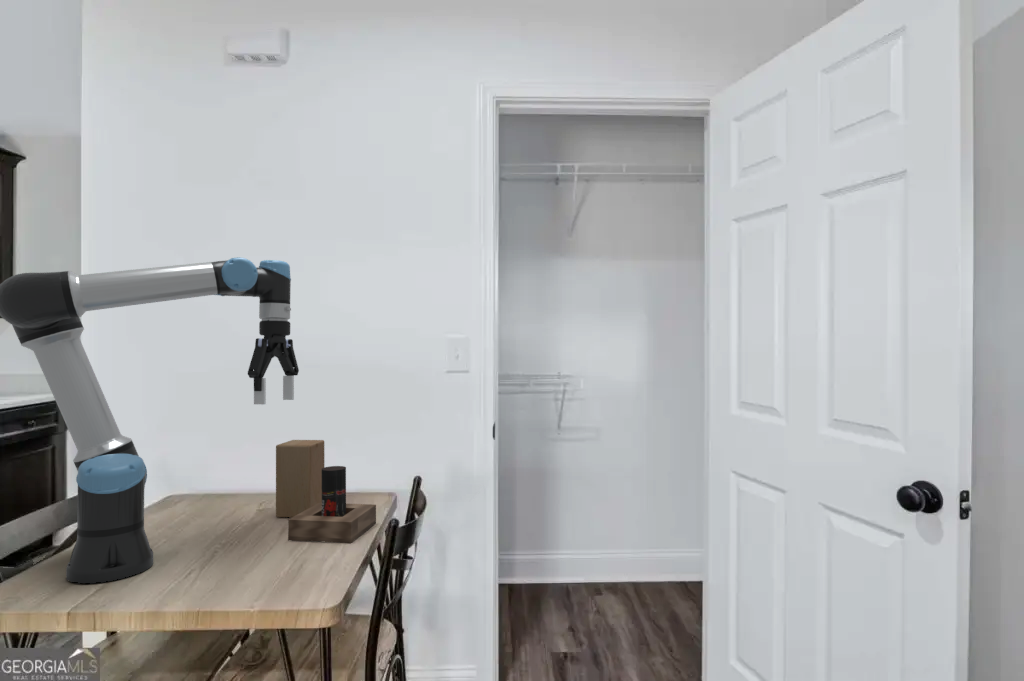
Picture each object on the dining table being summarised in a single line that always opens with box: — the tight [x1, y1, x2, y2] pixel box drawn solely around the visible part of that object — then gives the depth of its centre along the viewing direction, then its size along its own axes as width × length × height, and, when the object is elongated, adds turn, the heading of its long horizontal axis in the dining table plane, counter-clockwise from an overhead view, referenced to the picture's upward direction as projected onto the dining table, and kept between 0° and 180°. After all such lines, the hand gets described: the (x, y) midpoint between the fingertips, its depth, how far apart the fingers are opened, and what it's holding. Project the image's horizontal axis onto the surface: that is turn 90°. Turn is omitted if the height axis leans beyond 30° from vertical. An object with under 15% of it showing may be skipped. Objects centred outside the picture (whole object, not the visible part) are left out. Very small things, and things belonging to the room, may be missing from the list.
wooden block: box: [275, 439, 325, 519], centre depth 167 cm, size 10×10×20 cm
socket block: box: [287, 503, 377, 544], centre depth 149 cm, size 16×16×5 cm
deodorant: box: [322, 465, 347, 517], centre depth 149 cm, size 6×6×15 cm
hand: (274, 402), depth 153 cm, fingers open, 13 cm apart
